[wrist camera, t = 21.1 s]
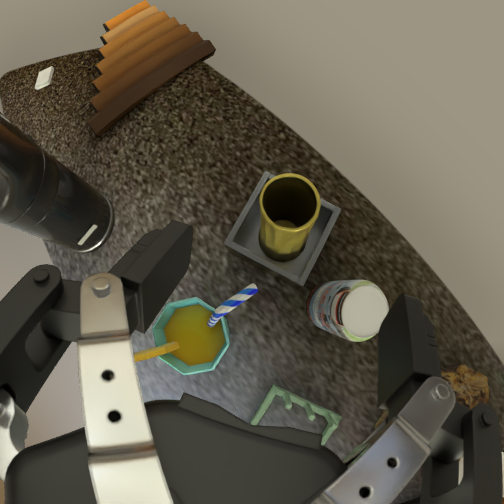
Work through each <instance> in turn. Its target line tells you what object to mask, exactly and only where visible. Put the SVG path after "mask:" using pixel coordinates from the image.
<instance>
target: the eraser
mask: <svg viewBox="0 0 504 504" xmlns="http://www.w3.org/2000/svg"><path fill="white" fill-rule="evenodd" d="M53 71H54V68H53V66H51V67H49V68H47V69H45V70H43V71H41V72H39V75H38V78H37V82H36V85H35V89H36V90H39V89H41V88H43V87H45V86H47V85H49V84H50V82H51V78H52V75H53Z"/></svg>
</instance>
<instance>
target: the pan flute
mask: <svg viewBox="0 0 504 504" xmlns="http://www.w3.org/2000/svg"><path fill="white" fill-rule="evenodd" d="M103 26H104V28H105V30H106V32H107V33H105V34H104V35H102V36H101V37H100V38H101V40H102V42H103V44H104V45H105V46H103V47H102V48H100V49H99V50H97V52H98V53H99V55H100V57H101V59H102V60H101V61H100V62H99V63H97V64H96V65H95V68H96V70H97V71H98V73H99V74H100V75H101V76H99V77H98V78H97V79H95V80H94V81H93V82H91V83H92V84H93V86H94V88H95V89H96V91H97V92H98V94H97V95H96V96H94V97H93V98H92V99H91V100H89V102H90V104H91V105H92V107H93V108H94V110H95V111H96V112H97V113H96V114H95V115H94V116H92V117H91V118H90V119H89V120H88V121H86V122H87V123H88V125H89V126H90V127H91V129H92V130H93V131H94V132H95V134H96V135H97V136H98V137H99V136H101V135H102V134H103V133H104V132H105V131H106V130H108V129H109V128H110V127H111V126H112V125H113V124H115V123H116V122H117V121H118V120H119V119H120V118H122V117H123V116H124V115H125V114H127V113H128V112H129V111H130V110H131V109H133V108H134V107H135V106H136V105H138V104H139V103H140V102H141V101H143V100H144V99H145V98H147V97H148V96H149V95H151V94H152V93H153V92H155V91H156V90H157V89H159V88H160V87H161V86H163V85H164V84H165V83H167V82H168V81H170V80H171V79H172V78H174V77H175V76H177V75H178V74H180V73H181V72H182V71H184V70H185V69H187V68H188V67H190V66H191V65H193V64H194V63H196V62H197V61H199V60H202V61H205V60H206V59H208V58H210V57H212V56H213V55H214V53H215V51H216V49H215V47H214V46H213V45H212V43H211V42H210V41H209V40H203V39H202V38H201V37H200V35H199V34H198V32H191V31H190V30H189V28H188V27H187V26H186V24H182V25H180V24H179V23H178V21H177V20H176V19H175V18H174V17H172V18H169V17H168V15H167V14H166V13H165V11H162V12H159V10H158V9H157V8H156V6H155V5H154V6H150V5H149V4H148V2H147V1H146V0H144V1H143V2H141V3H139V4H137V5H135V6H133V7H132V8H130V9H128V10H126V11H124V12H123V13H121V14H119V15H118V16H116V17H114V18H113V19H111V20H109V21H108V22H106V23H105V24H103Z"/></svg>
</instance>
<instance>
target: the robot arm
mask: <svg viewBox="0 0 504 504" xmlns="http://www.w3.org/2000/svg"><path fill="white" fill-rule="evenodd" d="M0 223H2V224H4V225H7V226H9V227H12V228H15V229H18V230H20V231H23V232H26V233H28V234H31V235H34V236H36V237H39V238H42V239H45V240H47V241H50V242H53V243H56V244H59V245H61V246H64V247H67V248H70V249H71V250H73V251H76V252H79V253H89V252H92V251H95V250H96V249H98V248H99V247H101V246H102V245H103V244H104V243H105V241H106V240H107V239H108V237H109V235H110V233H111V231H112V228H113V224H114V209H113V206H112V203H111V201H110V200H109V199H108V198H107V197H106V196H105V195H104V194H102V193H101V192H99V191H97V190H96V189H95V188H93V187H92V186H91V185H89V184H88V183H87V182H85V181H84V180H83V179H81V178H80V177H79V176H77V175H76V174H75V173H73V172H72V171H71V170H69V169H68V168H67V167H65V166H64V165H63V164H61V163H60V162H59V161H57V160H56V159H55V158H54V157H52V156H51V155H49V154H48V153H47V152H46V151H44V150H43V149H42V148H40V147H39V146H38V145H37V144H35V143H34V141H33V139H32V138H31V137H30V136H29V135H25V134H24V133H23V132H22V131H21V130H20V129H19V128H18V127H17V126H15V125H14V124H13V123H12V122H11V121H10V120H8V119H7V118H6V117H5V116H4V115H3V114H2V113H1V112H0ZM192 235H193V227H192V226H191V225H188V224H184V223H181V222H178V221H175V220H173V221H171V222H170V223H169V224H168V225H167V226H166V227H165V228H164V229H163V230H159V229H155V230H153V231H151V232H149V233H146V234H145V235H144V236H143V237H142V238H141V239H140V240H139V241H138V242H137V244H135V245H134V246H133V247H132V248H131V250H129V251H128V252H127V253H126V254H125V255H124V256H123V257H122V258H121V259H120V260H119V261H118V262H117V263H116V264H115V265H114V266H113V268H112V269H111V270H110V271H109V272H108V273H96V274H93V275H91V276H89V277H87V278H86V279H85V280H84V281H83V282H79V281H72V280H65V279H62V277H61V273H60V271H59V269H58V268H57V267H55V266H53V265H48V264H45V265H39V266H36V267H34V268H32V269H31V270H30V271H29V272H28V273H27V274H26V275H25V276H24V277H23V278H22V279H21V280H20V281H19V282H18V283H17V284H16V285H15V286H14V287H13V288H12V289H11V290H10V292H8V294H7V295H6V296H5V297H4V298H3V299H2V300H1V301H0V479H1V480H3V481H4V485H5V487H4V488H5V504H391V503H392V502H393V500H394V499H395V498H396V497H397V496H398V495H399V493H400V492H401V491H402V490H403V489H404V487H405V486H406V485H407V484H408V482H409V481H410V480H411V479H412V477H413V476H414V475H415V473H416V472H417V471H418V470H419V468H420V467H421V465H422V464H423V463H424V468H423V479H422V489H421V498H420V504H502V498H503V473H502V451H501V438H500V427H499V420H498V416H497V414H496V412H495V410H494V409H493V408H492V407H491V406H490V405H488V404H486V403H479V404H477V405H476V406H474V407H473V408H472V409H470V408H468V407H466V406H464V405H462V404H461V403H459V402H457V401H456V397H455V393H454V390H453V388H452V387H451V385H450V384H449V383H448V382H447V381H445V380H444V379H442V374H441V367H440V361H439V355H438V349H437V348H436V347H437V343H436V339H435V332H434V327H433V325H432V323H431V321H430V319H429V318H428V316H427V315H425V314H423V310H422V305H421V301H420V299H419V298H416V297H412V296H409V295H406V294H403V293H401V294H400V295H399V296H398V298H397V299H396V301H395V302H394V304H393V306H392V307H391V309H390V310H389V312H388V313H387V315H386V317H385V318H384V320H383V321H382V323H381V326H380V329H379V333H378V408H379V409H384V410H388V416H387V417H386V418H385V419H384V420H383V421H382V422H381V423H380V424H379V425H378V426H377V427H376V428H375V429H374V430H373V431H372V432H371V433H370V434H369V435H368V436H367V437H366V438H365V439H364V440H363V441H362V442H361V443H360V444H359V445H358V446H357V447H356V448H355V449H354V450H353V451H352V452H351V453H349V454H348V455H347V456H346V457H345V458H343V459H342V460H341V459H340V458H339V457H338V456H337V455H336V454H335V453H333V452H332V451H331V450H330V449H328V448H326V447H325V446H323V445H321V442H322V437H323V435H320V434H316V433H312V432H307V431H303V430H299V429H295V428H291V427H276V426H257V425H251V424H249V423H247V422H245V421H243V420H242V419H240V418H238V417H237V416H235V415H233V414H232V413H230V412H228V411H227V410H225V409H223V408H222V407H220V406H219V405H217V404H214V403H211V402H208V401H205V400H203V399H200V398H197V397H195V396H192V395H190V394H187V393H183V395H182V397H181V400H180V401H179V400H154V401H149V402H145V403H144V402H143V398H142V393H141V389H140V384H139V379H138V375H137V370H136V365H135V360H134V354H133V349H132V343H131V338H130V336H131V334H132V333H133V332H134V330H137V331H139V332H142V333H144V334H145V332H146V331H147V329H148V328H149V326H150V325H151V323H152V322H153V320H154V319H155V317H156V316H157V314H158V313H159V311H160V310H161V308H162V307H163V305H164V304H165V303H166V301H167V300H168V298H169V297H170V295H171V294H172V292H173V291H174V289H175V288H176V286H177V285H178V284H179V282H180V281H181V279H182V278H183V276H184V275H185V273H186V271H187V269H188V266H189V263H190V256H191V245H192ZM37 324H38V325H37ZM30 333H31V334H30ZM71 342H77V356H78V371H79V384H80V394H81V403H82V412H83V419H84V426H85V427H83V428H80V429H78V430H75V431H72V432H70V433H67V434H64V435H61V436H59V437H56V438H53V439H50V440H48V441H44V442H42V443H39V444H36V445H33V446H30V447H27V448H25V439H26V438H27V431H28V419H27V416H26V412H27V410H28V409H29V407H30V405H31V403H32V402H33V400H34V399H35V397H36V395H37V394H38V392H39V391H40V389H41V387H42V386H43V384H44V383H45V381H46V380H47V378H48V377H49V375H50V373H51V372H52V370H53V369H54V367H55V366H56V364H57V363H58V361H59V360H60V358H61V357H62V355H63V354H64V352H65V351H66V349H67V348H68V347H69V345H70V344H71ZM461 457H463V478H462V480H461V482H460V484H459V485H458V483H459V458H461Z"/></svg>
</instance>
